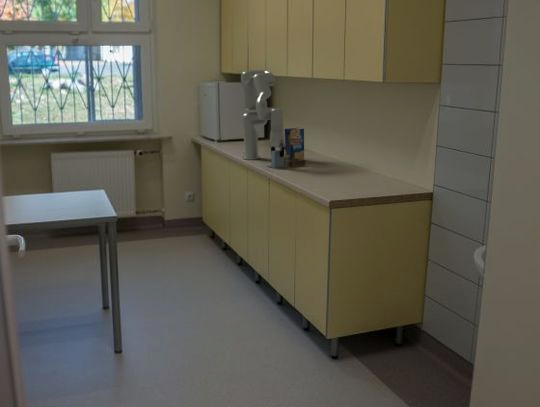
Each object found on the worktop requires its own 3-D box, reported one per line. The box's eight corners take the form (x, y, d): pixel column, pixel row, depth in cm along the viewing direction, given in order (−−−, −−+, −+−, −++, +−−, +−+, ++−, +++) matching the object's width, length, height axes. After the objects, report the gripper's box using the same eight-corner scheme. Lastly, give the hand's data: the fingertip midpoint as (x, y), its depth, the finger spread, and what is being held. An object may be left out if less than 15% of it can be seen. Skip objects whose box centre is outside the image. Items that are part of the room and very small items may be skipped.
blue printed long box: (304, 161, 402) (304, 128, 396) (290, 163, 396) (290, 129, 391) (298, 160, 407) (298, 127, 402) (285, 161, 401) (284, 128, 396)
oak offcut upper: (280, 160, 390) (280, 157, 390) (284, 159, 395) (284, 156, 395) (285, 161, 388) (285, 158, 388) (289, 159, 393) (289, 156, 393)
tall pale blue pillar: (271, 166, 379) (271, 151, 377) (280, 165, 383) (280, 150, 380) (274, 167, 376) (274, 151, 374) (283, 166, 380) (283, 150, 378)
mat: (267, 166, 382) (267, 166, 382) (278, 165, 387) (278, 164, 387) (277, 169, 372) (277, 168, 372) (288, 167, 377) (288, 167, 377)
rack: (276, 163, 391) (276, 158, 390) (290, 162, 397) (290, 156, 396) (290, 167, 378) (290, 162, 377) (305, 165, 384) (305, 160, 383)
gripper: (264, 127, 379) (265, 154, 383) (279, 130, 365) (280, 158, 369) (274, 127, 383) (274, 153, 387) (290, 129, 369) (290, 156, 373)
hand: (277, 155), depth 378 cm, fingers open, 9 cm apart
